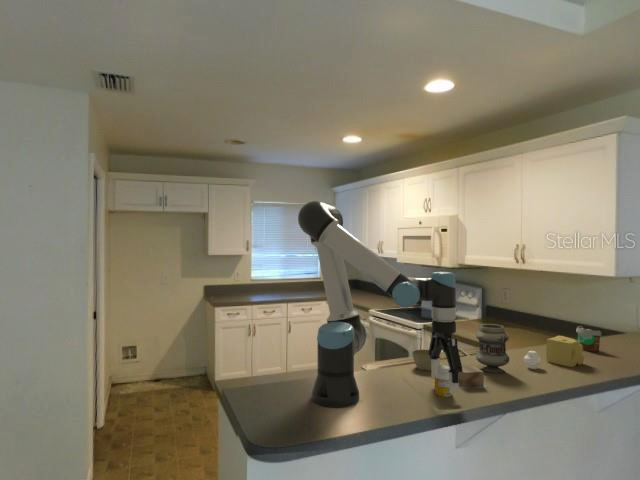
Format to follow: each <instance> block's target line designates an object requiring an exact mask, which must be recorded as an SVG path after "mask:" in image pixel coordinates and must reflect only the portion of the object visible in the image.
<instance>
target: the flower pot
mask: <svg viewBox="0 0 640 480" xmlns="http://www.w3.org/2000/svg"><path fill="white" fill-rule="evenodd" d="M428 351H429V349H415V350H413V351H412V358H413V361H414V364H415V366H416V368H417V369H418V370H420V371H431V358H430V355H428ZM431 352H432V351H431ZM437 359H439V358H437Z"/></svg>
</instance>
